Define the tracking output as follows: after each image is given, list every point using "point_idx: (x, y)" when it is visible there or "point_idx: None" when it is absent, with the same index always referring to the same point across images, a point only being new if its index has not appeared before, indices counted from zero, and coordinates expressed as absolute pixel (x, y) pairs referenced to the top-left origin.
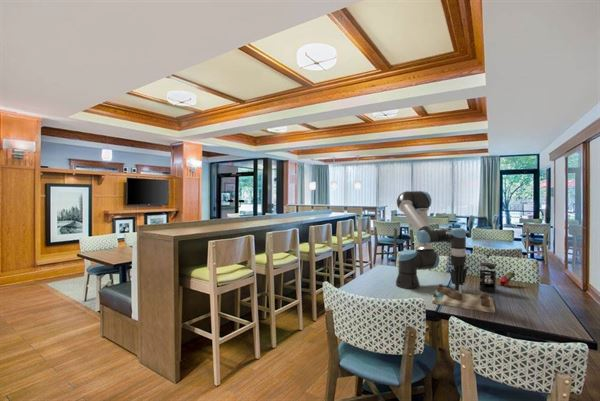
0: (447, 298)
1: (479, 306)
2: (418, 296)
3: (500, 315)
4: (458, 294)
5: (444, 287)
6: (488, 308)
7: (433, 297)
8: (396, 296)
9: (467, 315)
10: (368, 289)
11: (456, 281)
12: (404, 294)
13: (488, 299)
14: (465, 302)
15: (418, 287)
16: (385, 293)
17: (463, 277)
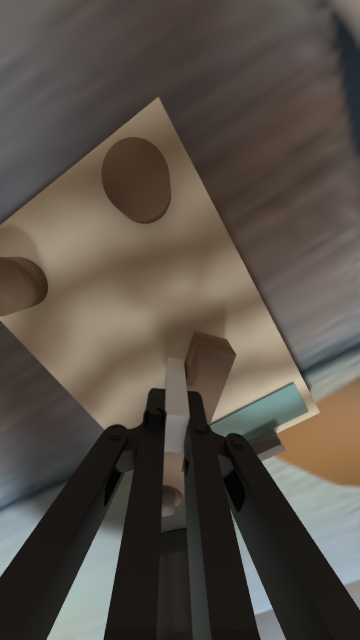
0: (236, 388)
1: (202, 204)
2: (274, 472)
3: (166, 62)
4: (225, 358)
5: (170, 474)
6: (181, 142)
7: (283, 428)
8: (347, 505)
9: (341, 199)
10: (354, 578)
11: (243, 468)
12: (299, 506)
13: (13, 254)
14: (209, 300)
15: (174, 531)
16: (347, 537)
17: (93, 506)
